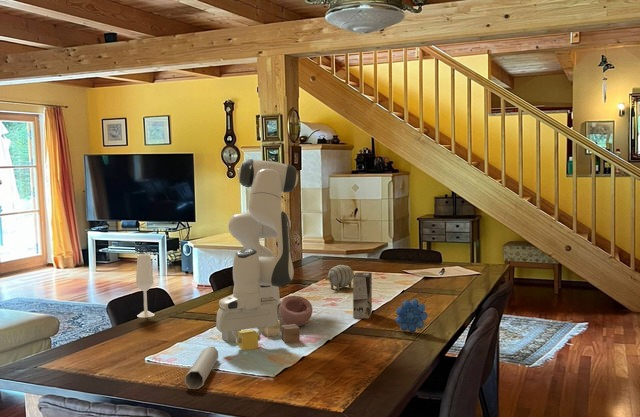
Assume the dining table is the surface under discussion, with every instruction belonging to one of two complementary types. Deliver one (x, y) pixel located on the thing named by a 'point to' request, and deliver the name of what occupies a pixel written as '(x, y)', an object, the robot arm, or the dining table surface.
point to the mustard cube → (248, 339)
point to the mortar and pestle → (295, 310)
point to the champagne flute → (144, 279)
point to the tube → (201, 368)
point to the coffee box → (362, 295)
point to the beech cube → (271, 330)
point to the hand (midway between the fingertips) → (248, 341)
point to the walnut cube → (290, 333)
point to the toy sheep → (340, 276)
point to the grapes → (411, 315)
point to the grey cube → (228, 336)
